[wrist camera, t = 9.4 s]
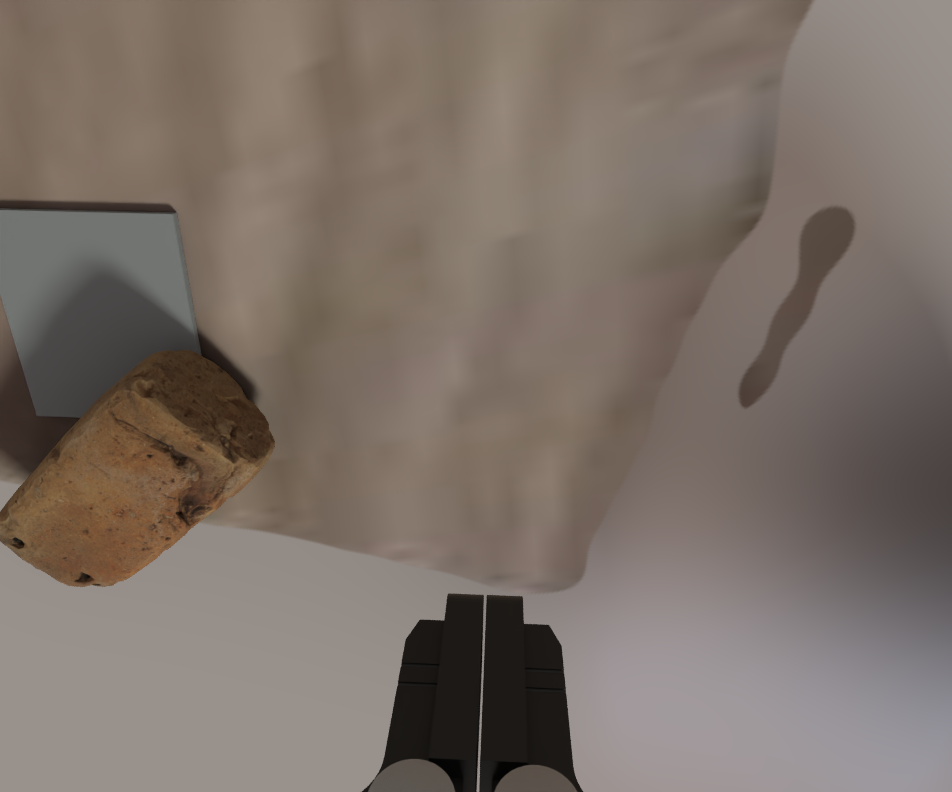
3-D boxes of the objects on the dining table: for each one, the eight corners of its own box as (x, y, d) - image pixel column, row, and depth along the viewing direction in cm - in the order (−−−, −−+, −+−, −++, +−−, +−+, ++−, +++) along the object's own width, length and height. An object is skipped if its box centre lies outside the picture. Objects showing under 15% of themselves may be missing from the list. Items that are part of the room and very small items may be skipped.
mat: (-19, 207, 43) (-26, 209, 43) (176, 212, 43) (172, 214, 42) (41, 412, 50) (36, 416, 49) (212, 418, 49) (209, 422, 49)
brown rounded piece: (172, 322, 45) (27, 473, 52) (117, 377, 38) (-39, 541, 46) (296, 423, 49) (145, 549, 56) (264, 488, 42) (99, 622, 50)
